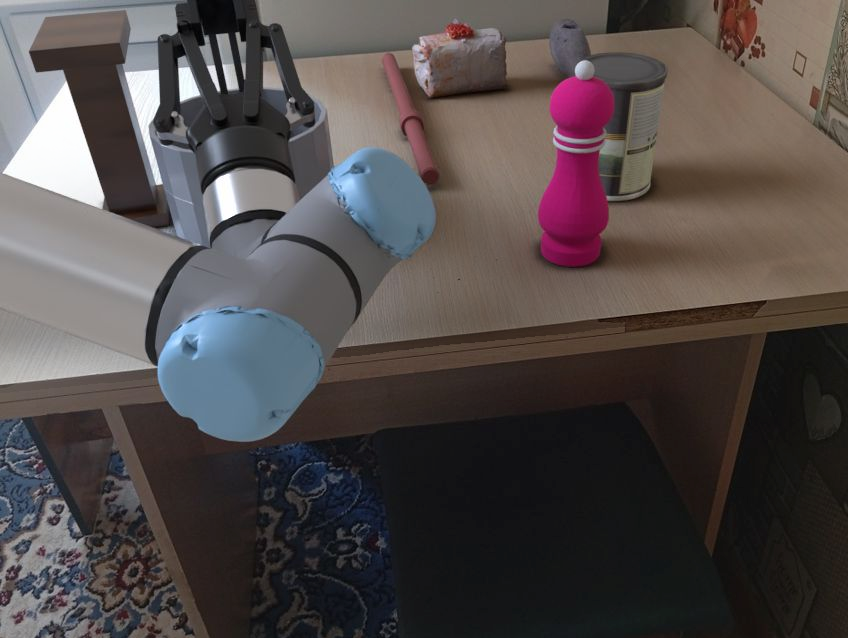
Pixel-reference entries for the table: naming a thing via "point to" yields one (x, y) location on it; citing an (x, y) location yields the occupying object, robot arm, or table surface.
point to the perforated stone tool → (567, 45)
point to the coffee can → (629, 121)
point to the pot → (182, 173)
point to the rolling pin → (410, 122)
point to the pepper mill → (576, 170)
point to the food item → (460, 61)
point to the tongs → (221, 20)
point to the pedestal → (104, 107)
